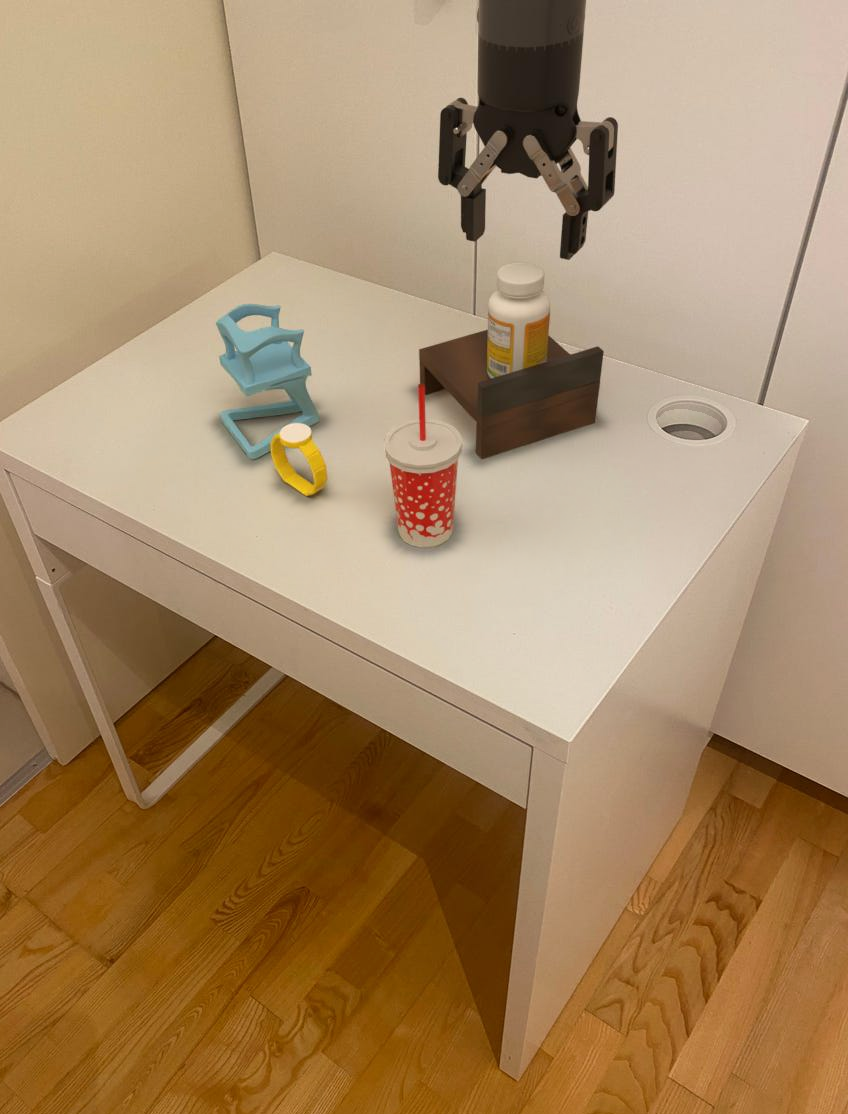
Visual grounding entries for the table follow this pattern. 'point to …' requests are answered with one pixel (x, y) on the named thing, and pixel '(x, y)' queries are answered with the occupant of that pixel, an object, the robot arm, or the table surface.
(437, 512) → the beverage cup
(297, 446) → the watch
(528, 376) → the shelf
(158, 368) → the table surface
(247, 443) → the chair
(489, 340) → the supplement bottle
